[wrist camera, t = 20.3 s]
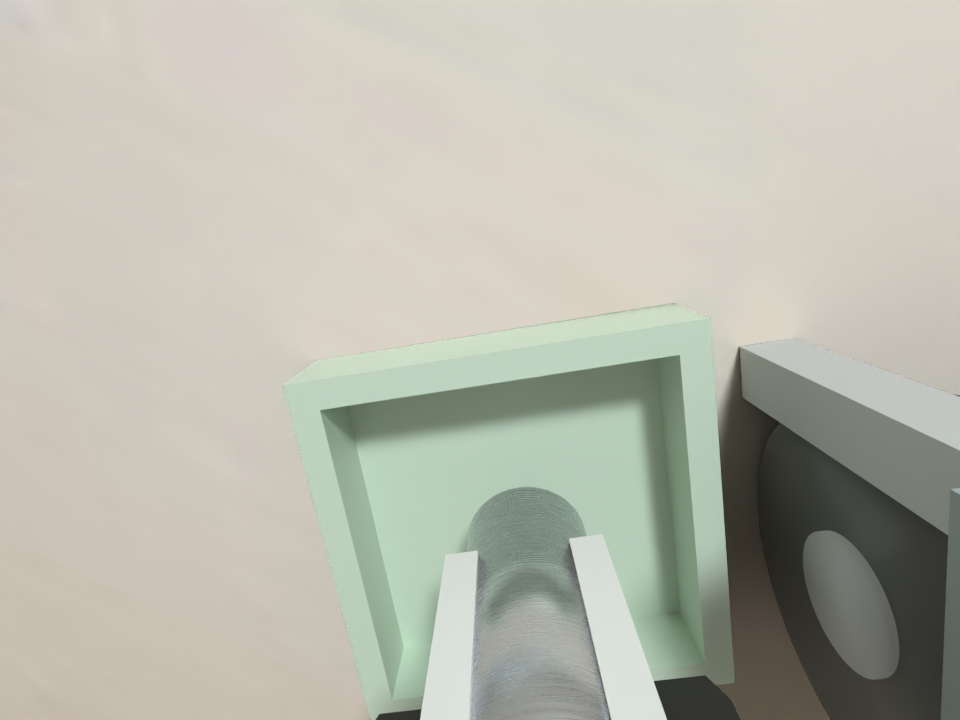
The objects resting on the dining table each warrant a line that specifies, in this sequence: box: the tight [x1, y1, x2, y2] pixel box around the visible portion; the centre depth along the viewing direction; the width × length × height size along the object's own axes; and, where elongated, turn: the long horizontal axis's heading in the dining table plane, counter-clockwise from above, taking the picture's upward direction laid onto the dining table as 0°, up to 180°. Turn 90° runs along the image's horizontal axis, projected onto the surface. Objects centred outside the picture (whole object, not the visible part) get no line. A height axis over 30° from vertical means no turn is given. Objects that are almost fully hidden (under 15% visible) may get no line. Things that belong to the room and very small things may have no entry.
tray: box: [282, 303, 735, 720], centre depth 16 cm, size 11×11×3 cm
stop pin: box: [467, 487, 611, 720], centre depth 10 cm, size 3×3×10 cm
